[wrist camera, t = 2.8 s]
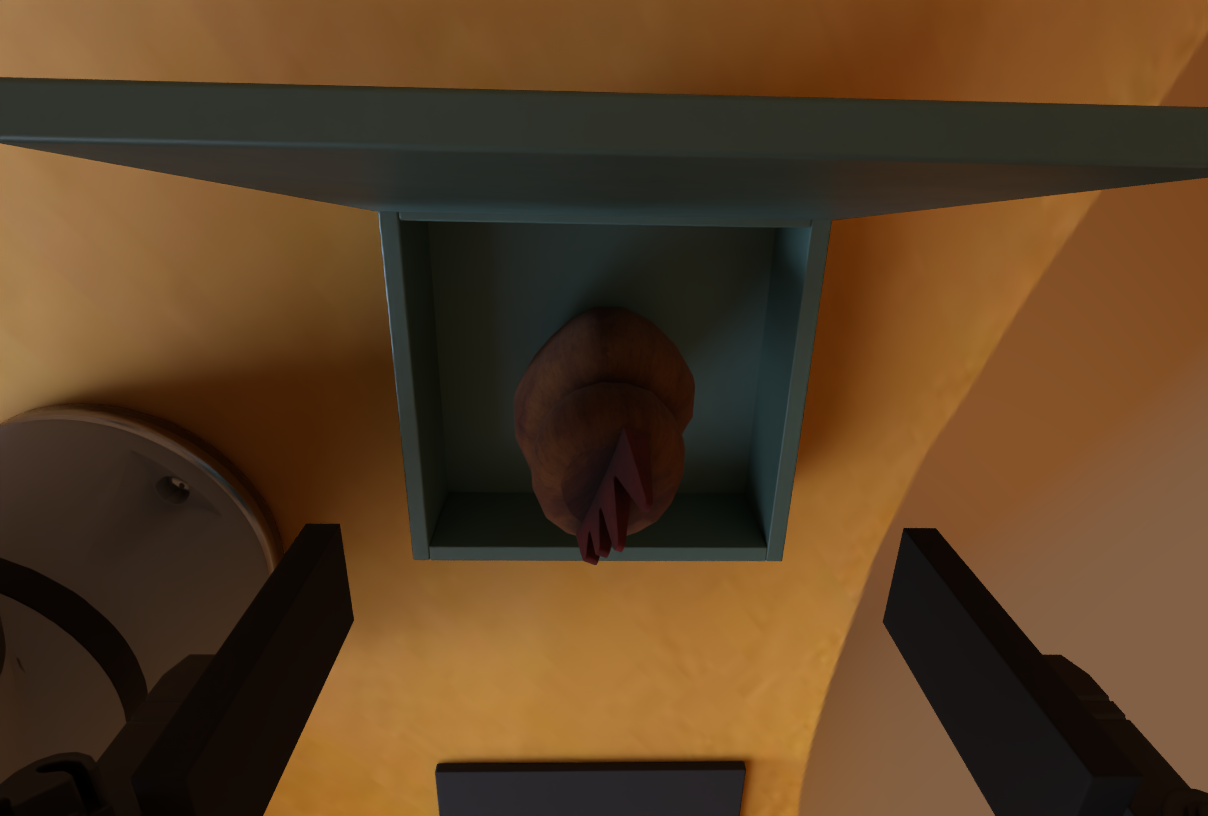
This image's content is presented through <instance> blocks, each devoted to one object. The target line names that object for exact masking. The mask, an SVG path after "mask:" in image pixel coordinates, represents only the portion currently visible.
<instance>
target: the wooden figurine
mask: <svg viewBox="0 0 1208 816" xmlns="http://www.w3.org/2000/svg"><path fill="white" fill-rule="evenodd" d="M694 395H695V384H694V378H693V375H692V373H691V371H690V369H689V367H688V365H687V363H686V362H685V360H684V358H683V357H682V355H681V354H680V352H679V350H678V349H677V347H676V346H675V344H674V343H673V342H672V341H671V340H670V339H669V338H668V337H667V336H666V335H665V334H664V333H663V332H662V331H661V330H660V329H659V328H658V327H657V326H656V325H655V324H654V323H653V322H651V321H650V320H649V319H647V318H645V317H643V316H641V315H639V314H637V313H635V312H633V311H631V310H629V309H627V308H625V307H593V308H591V309H589V310H588V311H586V312H584V313H582V314H580V315H578V316H576V317H574V318H572V319H570V320H569V321H568V322H567V323H566V324H565V325H563V326H562V327H561V328H560V329H559V330H558V331H557V332H555V333H554V334H553V335H552V336H551V337H550V338H549V339H548V340H547V342H546V343H545V344H544V345H543V346H542V347H541V349H540V350H539V351H538V352H537V353H536V354H535V356H534V358H533V359H532V361H531V363H530V364H529V366H528V368H527V370H526V372H525V373H524V375H523V377H522V379H521V381H520V382H519V384H518V386H517V389H516V392H515V396H514V417H515V438H516V440H517V442H518V444H519V446H520V448H521V450H522V453H523V455H524V457H525V459H526V461H527V463H528V465H529V467H530V469H531V471H532V488H533V490H534V492H535V494H536V497H537V499H538V501H539V503H540V505H541V508H542V510H543V512H544V514H545V516H546V518H547V519H549V520H550V521H551V522H553V523H554V524H555V525H557V526H558V527H559V528H561V529H562V530H564V531H565V532H566V533H569V534H572V535H576V537H577V541H578V545H579V549H580V553H581V556H582V559H583V561H585V562H588V563H591V564H594V565H597V563H598V561H599V558H600V556H601V557H604V558H607V557H608V555H609V554H610V550H611V545H613V549H614V550H616V551H618V552H622V551H623V549H624V547H625V544H626V536H627V535H630V534H633V533H636V532H639V531H641V530H642V529H644V528H646V527H647V526H649V525H651V524H652V523H654V522H656V521H658V519H659V518H660V517H661V516H662V514H663V513H664V512H665V511H666V509H667V508H668V507H669V506H670V504H671V503H672V501H673V498H674V496H675V494H676V491H677V489H678V487H679V484H680V482H681V479H682V477H683V474H684V459H685V446H684V439H683V437H682V434H683V432H684V430H685V428H686V427H687V425H688V424H689V422H690V421H691V419H692V418H693V408H694Z"/></svg>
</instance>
